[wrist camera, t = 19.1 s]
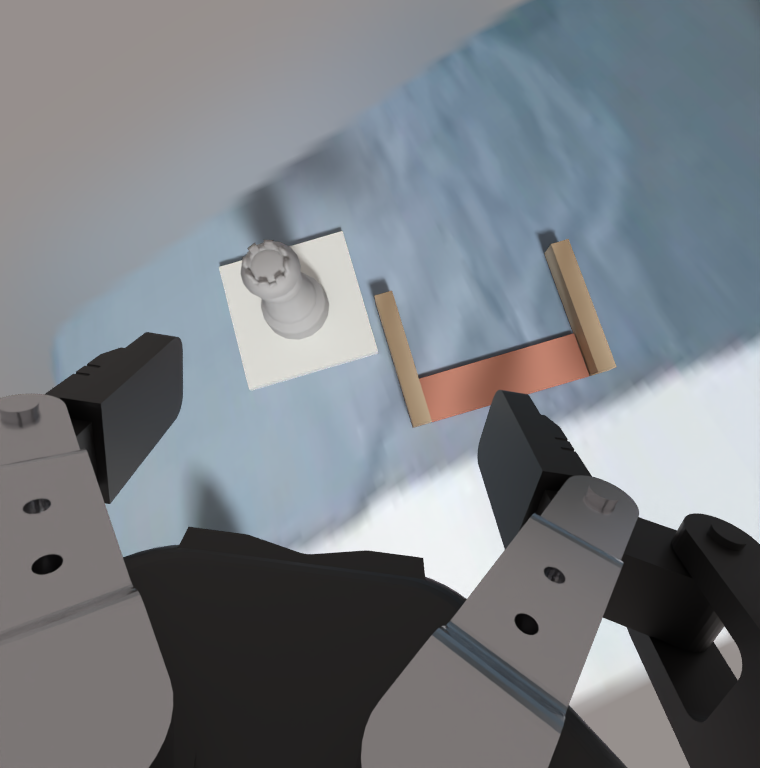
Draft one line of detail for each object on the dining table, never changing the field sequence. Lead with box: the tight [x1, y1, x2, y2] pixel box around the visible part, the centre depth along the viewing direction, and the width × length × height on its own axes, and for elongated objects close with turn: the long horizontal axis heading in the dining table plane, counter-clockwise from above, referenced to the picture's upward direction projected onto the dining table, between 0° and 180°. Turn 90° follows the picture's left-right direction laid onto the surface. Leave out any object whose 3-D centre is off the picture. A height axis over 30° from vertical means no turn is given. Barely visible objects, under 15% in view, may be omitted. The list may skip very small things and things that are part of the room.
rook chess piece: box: [240, 240, 329, 340], centre depth 29 cm, size 4×4×8 cm
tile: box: [219, 231, 379, 390], centre depth 33 cm, size 9×9×1 cm
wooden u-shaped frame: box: [375, 239, 616, 428], centre depth 32 cm, size 13×9×2 cm
